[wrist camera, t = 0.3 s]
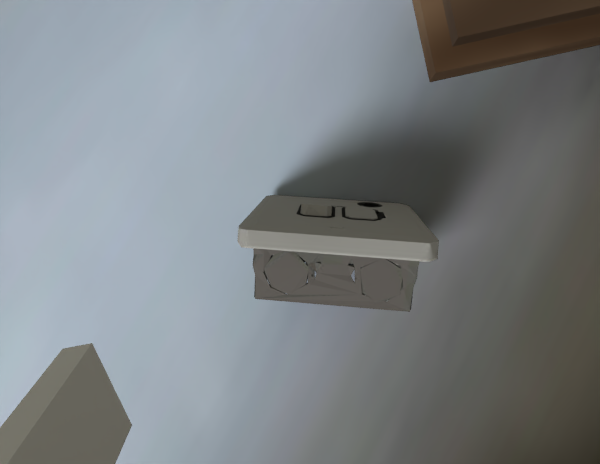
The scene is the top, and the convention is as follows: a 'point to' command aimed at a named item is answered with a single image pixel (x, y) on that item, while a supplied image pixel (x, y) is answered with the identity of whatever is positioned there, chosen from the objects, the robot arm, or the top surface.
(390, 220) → the electrical switch
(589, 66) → the top surface
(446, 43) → the walnut stand
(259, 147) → the top surface
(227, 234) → the top surface
